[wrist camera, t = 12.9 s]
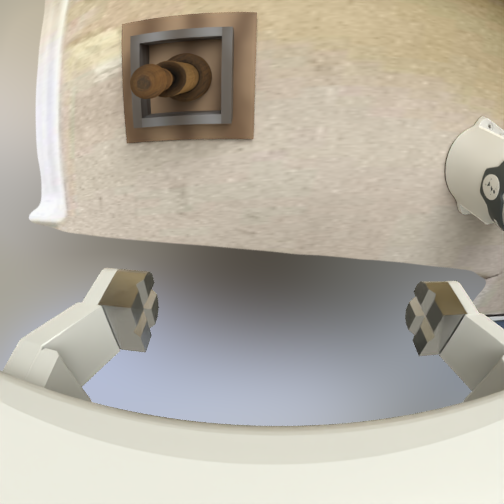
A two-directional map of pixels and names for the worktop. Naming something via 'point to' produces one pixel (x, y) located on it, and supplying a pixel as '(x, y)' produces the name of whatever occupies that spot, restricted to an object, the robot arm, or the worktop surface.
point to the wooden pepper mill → (173, 78)
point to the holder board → (222, 85)
